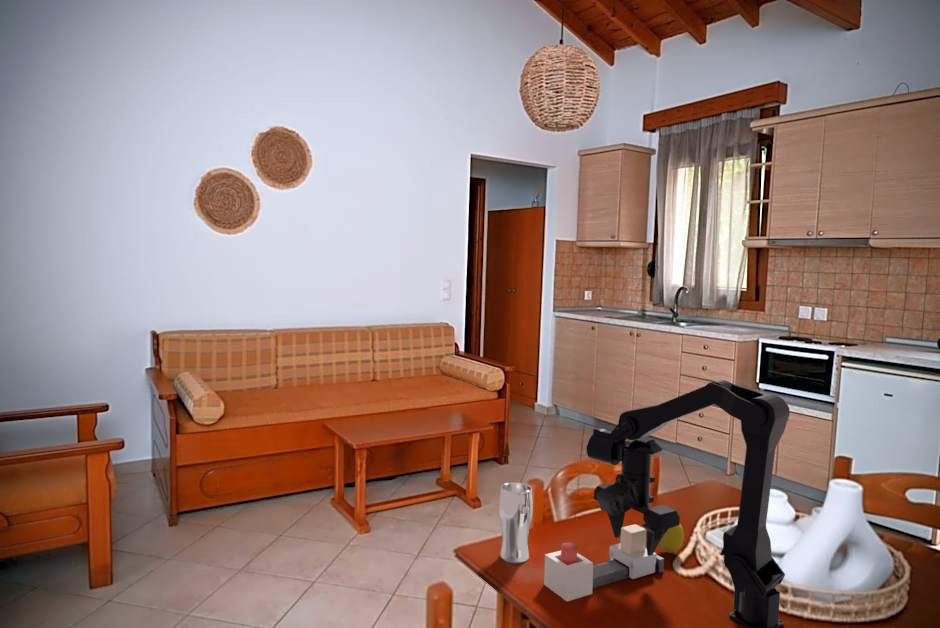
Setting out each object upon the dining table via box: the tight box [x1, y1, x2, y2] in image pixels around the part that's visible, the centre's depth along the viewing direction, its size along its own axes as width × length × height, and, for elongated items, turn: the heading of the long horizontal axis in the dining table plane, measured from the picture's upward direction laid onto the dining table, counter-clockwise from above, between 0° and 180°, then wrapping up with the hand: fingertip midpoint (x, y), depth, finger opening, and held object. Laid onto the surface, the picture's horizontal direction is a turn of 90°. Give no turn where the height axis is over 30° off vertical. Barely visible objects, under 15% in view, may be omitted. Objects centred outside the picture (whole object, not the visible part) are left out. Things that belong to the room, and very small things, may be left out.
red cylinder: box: [560, 541, 578, 565], centre depth 118 cm, size 3×3×5 cm
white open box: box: [543, 550, 594, 602], centre depth 118 cm, size 7×6×6 cm
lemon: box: [658, 523, 685, 554], centre depth 134 cm, size 6×6×8 cm
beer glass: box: [498, 481, 534, 564], centre depth 131 cm, size 7×7×15 cm
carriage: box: [608, 523, 657, 580], centre depth 126 cm, size 7×6×8 cm
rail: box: [592, 554, 665, 589], centre depth 124 cm, size 7×17×3 cm, turn 120°
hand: (633, 546), depth 126 cm, fingers open, 9 cm apart
